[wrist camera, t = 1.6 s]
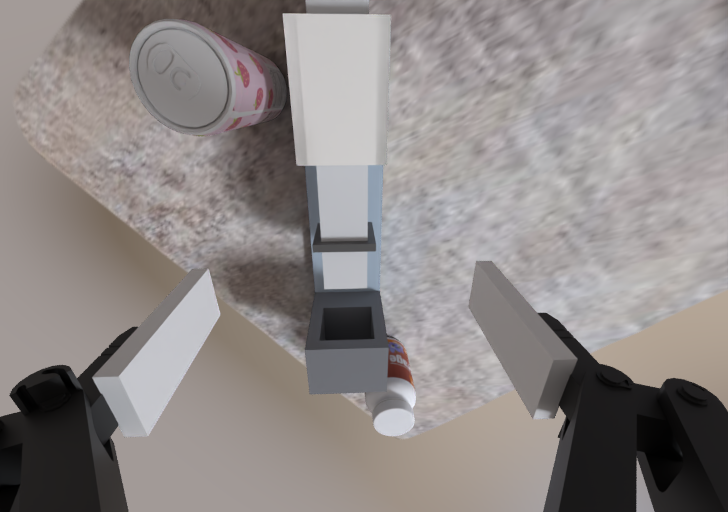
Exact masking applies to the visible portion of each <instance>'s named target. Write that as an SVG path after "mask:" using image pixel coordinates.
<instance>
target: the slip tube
mask: <svg viewBox="0 0 728 512" xmlns="http://www.w3.org/2000/svg"><path fill="white" fill-rule="evenodd" d="M306 14H369V0H306ZM316 168H317V184H318V199H319V215H320V223H318V224H317V228H316V232H315V236H314V240H313V244H312V248H313V253H315V252H322V261H323V276H324V289H358V288H367V252H371V251H376V241H375V235H374V230H373V225H372V222H368V165H329V166H316Z"/></svg>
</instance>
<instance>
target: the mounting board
mask: <svg viewBox="0 0 728 512" xmlns="http://www.w3.org/2000/svg"><path fill="white" fill-rule="evenodd" d="M305 174H306V186H307V199H308V211H309V223H310V236H311V248H312V244H313V240H314V236H315V232H316V228H317V224H318V223H320V215H319V199H318V184H317V168H316V166H305ZM382 187H383V165H368V222H372V225H373V230H374V235H375V241H376V251H371V252H367V288H358V289H324V276H323V261H322V252H315V253H313V248H312V261H313V273H314V285H315V293H316V292H360V291H380V261H381V224H382Z"/></svg>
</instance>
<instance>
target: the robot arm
mask: <svg viewBox="0 0 728 512" xmlns="http://www.w3.org/2000/svg"><path fill="white" fill-rule="evenodd" d="M469 309H470V310H471V312H472V314H473V316H474V317H475V319H476V321H477V323H478V324H479V326H480V328H481V330H482V331H483V333H484V335H485V337H486V338H487V340H488V342H489V344H490V345H491V347H492V349H493V350H494V352H495V354H496V356H497V357H498V359H499V361H500V363H501V364H502V366H503V368H504V370H505V371H506V373H507V375H508V377H509V378H510V380H511V382H512V384H513V385H514V387H515V389H516V391H517V392H518V394H519V396H520V397H521V399H522V401H523V403H524V404H525V406H526V408H527V410H528V411H529V413H530V415H531V417H532V418H533V419H548V418H555V416H556V413H557V411H558V408H559V406H560V408H561V409H562V410H563V412H564V414H565V415H566V418H565V421H564V424H563V426H562V428H561V431H560V433H559V435H558V438H560V441H559V445H558V450H557V454H556V459H555V463H554V467H553V472H552V476H551V481H550V485H549V489H548V494H547V498H546V502H545V507H544V511H543V512H636V461H637V459H636V458H638V461H639V465H640V468H641V471H642V474H643V477H644V480H645V483H646V486H647V489H648V493H649V495H650V499H651V502H652V505H653V508H654V511H655V512H728V411H727V410H726V408H725V407H724V405H723V404H722V402H721V401H720V400H719V399H718V398H717V397H716V396H715V395H713V394H712V393H711V392H709V391H708V390H707V389H705V388H703V387H701V386H699V385H697V384H695V383H692V382H689V381H686V380H683V379H676V378H671V379H667V380H666V381H665V382H664V383H663V385H662V387H661V388H655V387H650V386H645V385H640V384H635V383H633V381H632V380H631V379H630V378H629V377H628V376H627V375H625V374H624V373H622V372H621V371H619V370H617V369H615V368H613V367H610V366H607V365H603V364H599V363H598V362H597V361H596V360H595V359H594V358H593V357H592V356H591V355H590V353H589V352H588V351H587V350H586V349H585V348H584V347H583V346H582V345H581V344H580V343H579V342H578V341H577V340H576V339H575V338H574V337H573V335H572V334H571V333H570V332H569V331H567V329H566V328H565V327H564V326H563V325H562V324H561V323H560V322H559V321H558V320H557V319H555V318H554V317H552V316H550V315H549V314H547V313H537V312H536V311H535V310H534V309H533V308H532V307H531V305H530V304H529V303H528V302H527V301H526V300H525V299H524V297H523V296H522V295H521V294H520V293H519V292H518V291H517V290H516V288H515V287H514V286H513V285H512V284H511V283H510V282H509V280H508V279H507V278H506V277H505V276H504V275H503V274H502V272H501V271H500V270H499V269H498V268H497V267H496V266H495V265H494V263H493V262H492V261H476V266H475V271H474V277H473V283H472V289H471V295H470V301H469ZM219 316H220V311H219V307H218V303H217V300H216V295H215V292H214V288H213V284H212V280H211V276H210V272H209V269H192V270H191V271H190V272H189V273H188V274H187V275H186V277H185V278H184V279H183V280H182V281H181V282H180V283H179V284H178V285H177V286H176V287H175V288H174V289H173V290H172V292H171V293H170V294H169V295H168V296H167V297H166V298H165V299H164V300H163V301H162V302H161V304H160V305H159V306H158V307H157V308H156V309H155V310H154V311H153V312H152V313H151V314H150V315H149V316H148V317H147V319H146V320H145V321H144V322H143V323H142V324H141V325H140V326H139V327H132V328H130V329H129V330H127V331H125V332H124V333H122V334H121V335H119V336H118V337H117V338H116V339H115V340H114V341H113V343H111V345H109V348H107V349H105V350H104V351H103V352H102V354H101V356H99V357H98V358H97V359H96V360H95V361H94V362H93V363H92V364H91V365H90V366H89V367H88V368H87V369H86V370H85V371H84V372H83V373H82V374H81V375H80V376H79V377H78V378H76V376H75V375H74V373H73V371H72V370H71V368H70V367H69V366H66V365H57V366H51V367H48V368H45V369H42V370H40V371H37V372H35V373H33V374H31V375H29V376H28V377H26V378H25V379H23V380H22V381H20V382H19V383H18V384H17V385H16V386H15V387H14V388H13V389H12V391H11V393H10V397H11V398H12V400H13V401H14V402H15V404H16V405H17V407H18V408H19V409H20V410H21V412H17V413H13V414H9V415H5V416H2V417H0V512H128V507H127V502H126V498H125V494H124V488H123V484H122V479H121V474H120V470H119V466H118V460H117V456H116V451H115V446H114V443H113V441H112V439H111V437H110V436H111V435H112V434H113V432H114V431H115V429H116V428H117V427H118V426H119V428H120V430H121V432H122V433H123V435H124V437H142V436H148V435H149V433H150V432H151V430H152V429H153V427H154V425H155V424H156V422H157V420H158V419H159V417H160V415H161V413H162V412H163V410H164V408H165V407H166V405H167V403H168V402H169V400H170V398H171V397H172V395H173V393H174V392H175V390H176V388H177V387H178V385H179V383H180V382H181V380H182V378H183V377H184V375H185V373H186V372H187V370H188V368H189V366H190V365H191V363H192V362H193V360H194V358H195V357H196V355H197V353H198V352H199V350H200V348H201V347H202V345H203V343H204V342H205V340H206V338H207V337H208V335H209V333H210V331H211V330H212V328H213V326H214V325H215V323H216V321H217V320H218V318H219Z"/></svg>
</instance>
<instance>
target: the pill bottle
mask: <svg viewBox="0 0 728 512" xmlns="http://www.w3.org/2000/svg"><path fill="white" fill-rule="evenodd" d="M387 340H388V346H389V353H388V374H387V392H365V401H366V405H367V407H368V409H369V411H370V412H371V413H372V417H373V425H374V427H375V429H376V430H377V431H378V432H379V433H381V434H383V435H386V436H398V435H402V434H404V433H406V432H408V431H409V430H410V429H411V428H412V427H413V425H414V422H415V419H414V413H413V409H412V408H413V407H414V405H415V402H416V393H415V388H414V384H413V379H412V375H411V370H410V366H409V361H408V357H407V352H406V349H405V347H404V345H403V344H402V343H401V342H400V341H398V340H396V339H394V338H390V337H387Z"/></svg>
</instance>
